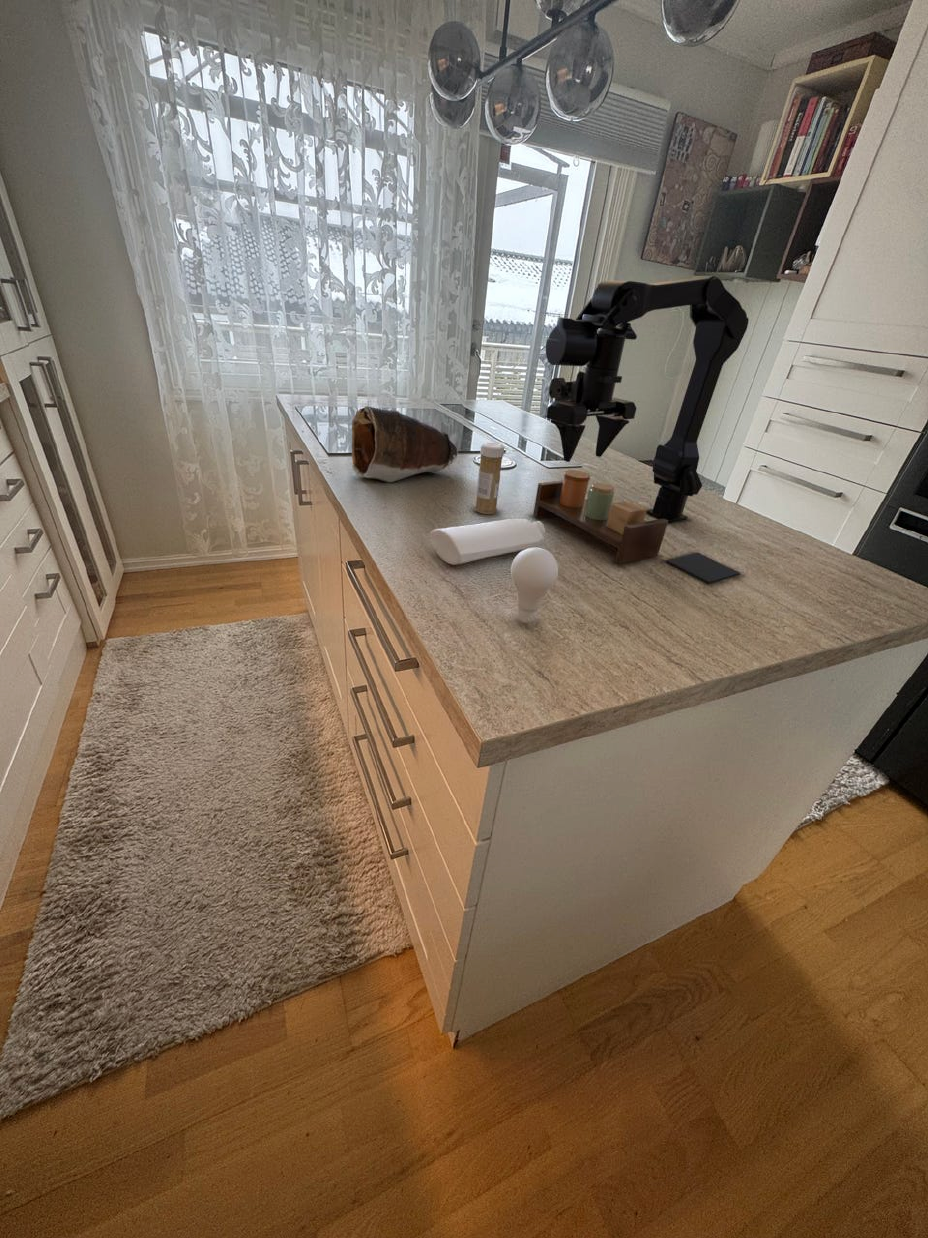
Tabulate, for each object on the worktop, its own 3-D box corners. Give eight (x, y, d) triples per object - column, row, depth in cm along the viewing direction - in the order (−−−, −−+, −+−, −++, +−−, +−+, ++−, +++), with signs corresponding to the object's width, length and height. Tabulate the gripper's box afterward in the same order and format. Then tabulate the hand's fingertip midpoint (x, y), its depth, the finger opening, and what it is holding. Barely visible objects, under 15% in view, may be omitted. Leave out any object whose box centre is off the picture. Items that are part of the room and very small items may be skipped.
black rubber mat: (696, 554, 97) (697, 552, 97) (739, 574, 91) (740, 572, 91) (665, 562, 93) (666, 560, 93) (708, 584, 87) (709, 582, 86)
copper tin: (572, 498, 106) (578, 469, 103) (589, 506, 103) (595, 476, 100) (553, 500, 104) (559, 471, 101) (570, 509, 101) (576, 478, 97)
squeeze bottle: (429, 549, 89) (430, 521, 86) (520, 533, 98) (524, 507, 96) (458, 573, 82) (461, 544, 79) (553, 553, 92) (558, 526, 89)
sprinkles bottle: (500, 513, 106) (509, 447, 99) (482, 516, 104) (490, 448, 97) (487, 506, 110) (495, 441, 102) (470, 508, 107) (476, 442, 100)
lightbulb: (500, 610, 73) (510, 538, 68) (542, 611, 74) (556, 540, 68) (507, 634, 68) (518, 558, 63) (551, 635, 69) (567, 561, 63)
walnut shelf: (568, 510, 112) (575, 478, 108) (657, 556, 95) (668, 520, 91) (532, 516, 107) (538, 483, 103) (619, 565, 90) (630, 528, 86)
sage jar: (596, 510, 101) (602, 481, 98) (613, 518, 98) (620, 488, 95) (578, 513, 99) (585, 483, 96) (595, 521, 96) (603, 491, 93)
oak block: (622, 523, 96) (628, 500, 94) (640, 532, 93) (647, 508, 91) (605, 526, 94) (611, 503, 92) (623, 535, 91) (630, 511, 89)
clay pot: (478, 427, 120) (379, 406, 106) (466, 493, 125) (370, 482, 111) (445, 421, 131) (352, 402, 117) (436, 482, 136) (345, 471, 122)
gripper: (598, 360, 99) (581, 444, 107) (530, 360, 88) (517, 452, 97) (647, 369, 92) (625, 458, 100) (580, 370, 81) (562, 469, 90)
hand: (582, 458), depth 97 cm, fingers open, 9 cm apart
